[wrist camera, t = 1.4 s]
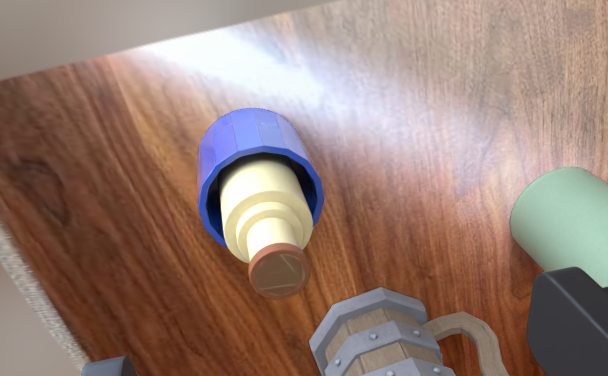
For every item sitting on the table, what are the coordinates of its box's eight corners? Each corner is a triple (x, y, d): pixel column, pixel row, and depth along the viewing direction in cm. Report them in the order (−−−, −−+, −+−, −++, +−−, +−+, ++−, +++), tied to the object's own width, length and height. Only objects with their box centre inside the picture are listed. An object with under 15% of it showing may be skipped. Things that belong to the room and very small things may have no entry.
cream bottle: (222, 122, 43) (239, 226, 29) (294, 133, 45) (342, 237, 31) (210, 187, 45) (220, 312, 32) (278, 196, 47) (316, 318, 33)
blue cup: (206, 99, 42) (210, 137, 35) (314, 117, 45) (337, 156, 38) (190, 197, 46) (190, 249, 39) (290, 209, 49) (307, 260, 42)
